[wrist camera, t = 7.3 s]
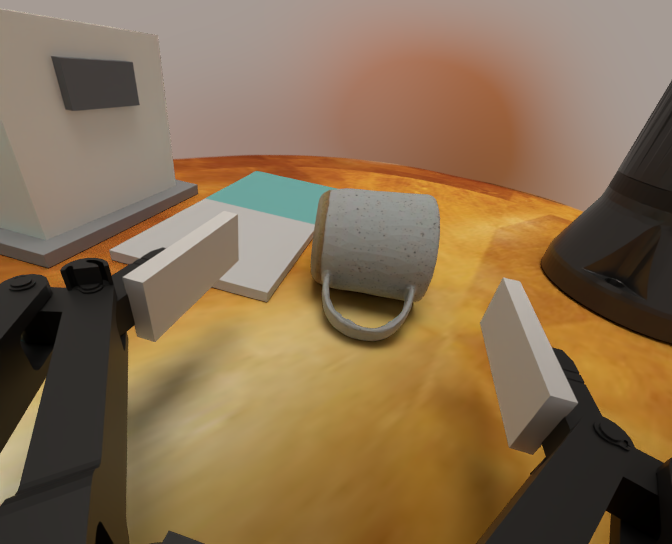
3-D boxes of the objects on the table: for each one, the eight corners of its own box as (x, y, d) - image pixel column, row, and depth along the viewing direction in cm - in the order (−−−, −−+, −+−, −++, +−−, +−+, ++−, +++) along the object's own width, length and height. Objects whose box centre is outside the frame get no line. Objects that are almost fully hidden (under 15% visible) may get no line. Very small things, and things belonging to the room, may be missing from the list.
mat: (342, 196, 42) (343, 190, 42) (267, 302, 22) (267, 292, 22) (256, 176, 44) (256, 170, 43) (111, 259, 23) (109, 250, 23)
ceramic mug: (314, 252, 29) (325, 165, 25) (405, 266, 29) (431, 182, 25) (296, 339, 20) (309, 226, 16) (427, 357, 20) (473, 251, 16)
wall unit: (198, 193, 36) (184, 39, 28) (48, 267, 22) (-57, -1, 14) (133, 178, 37) (105, 25, 29) (-50, 240, 23) (-196, -26, 15)
